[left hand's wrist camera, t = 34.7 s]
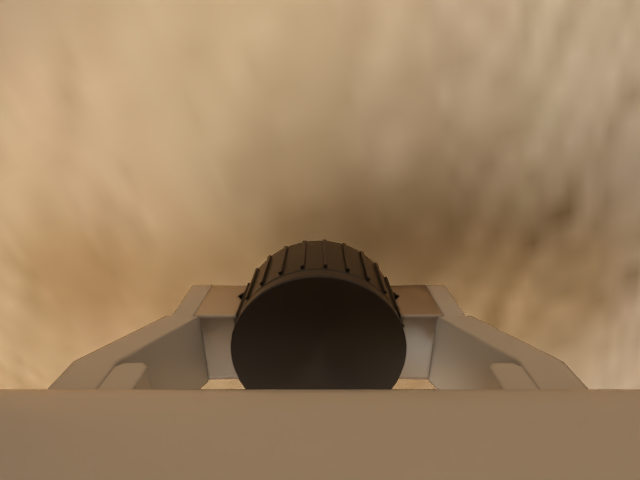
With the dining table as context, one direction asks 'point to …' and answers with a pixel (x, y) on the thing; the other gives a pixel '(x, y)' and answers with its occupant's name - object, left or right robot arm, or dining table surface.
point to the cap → (318, 322)
